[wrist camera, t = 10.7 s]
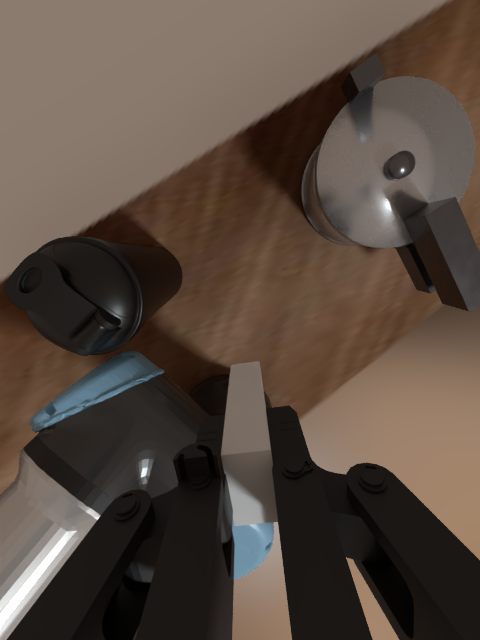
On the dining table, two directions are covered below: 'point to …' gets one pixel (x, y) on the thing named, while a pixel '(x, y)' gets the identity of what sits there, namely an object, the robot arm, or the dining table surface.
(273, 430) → the robot arm
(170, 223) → the dining table surface
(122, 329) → the water bottle
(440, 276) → the lid
